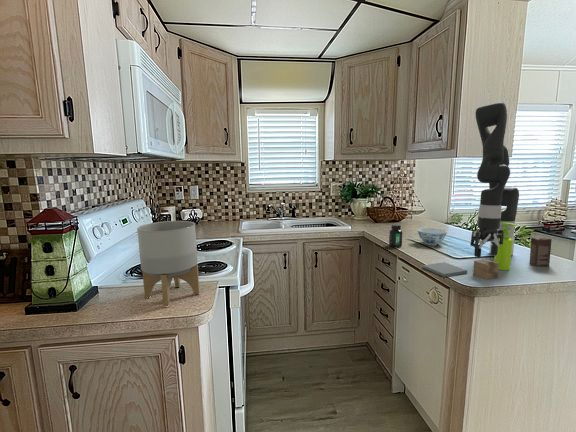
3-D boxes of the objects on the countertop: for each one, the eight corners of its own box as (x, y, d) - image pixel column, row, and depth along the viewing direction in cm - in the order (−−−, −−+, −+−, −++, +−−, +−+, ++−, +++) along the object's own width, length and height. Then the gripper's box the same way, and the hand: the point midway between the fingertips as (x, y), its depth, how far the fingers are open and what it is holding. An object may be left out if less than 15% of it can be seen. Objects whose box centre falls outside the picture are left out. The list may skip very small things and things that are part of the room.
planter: (203, 284, 125) (198, 219, 120) (195, 305, 106) (189, 229, 102) (153, 287, 122) (147, 221, 118) (136, 309, 104) (128, 232, 100)
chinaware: (451, 244, 177) (452, 230, 176) (436, 248, 169) (437, 234, 168) (426, 239, 190) (427, 226, 188) (411, 243, 181) (412, 230, 180)
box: (541, 262, 143) (544, 236, 141) (549, 266, 138) (552, 239, 136) (528, 263, 143) (530, 237, 141) (535, 266, 138) (538, 239, 136)
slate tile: (444, 264, 143) (444, 262, 142) (467, 273, 131) (467, 270, 131) (422, 267, 139) (423, 265, 139) (444, 276, 128) (444, 274, 127)
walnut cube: (484, 272, 132) (485, 259, 131) (497, 277, 126) (498, 263, 125) (473, 274, 130) (474, 260, 129) (486, 279, 124) (487, 264, 123)
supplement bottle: (400, 248, 171) (401, 226, 169) (387, 247, 174) (388, 225, 172) (403, 245, 177) (403, 224, 175) (390, 244, 180) (391, 223, 178)
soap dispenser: (507, 271, 132) (512, 224, 129) (490, 267, 138) (494, 222, 135) (515, 269, 135) (520, 223, 131) (498, 265, 141) (502, 221, 137)
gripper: (494, 213, 130) (490, 252, 132) (467, 215, 125) (464, 255, 128) (511, 216, 123) (507, 256, 125) (484, 218, 118) (480, 260, 121)
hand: (485, 255), depth 127 cm, fingers open, 8 cm apart
